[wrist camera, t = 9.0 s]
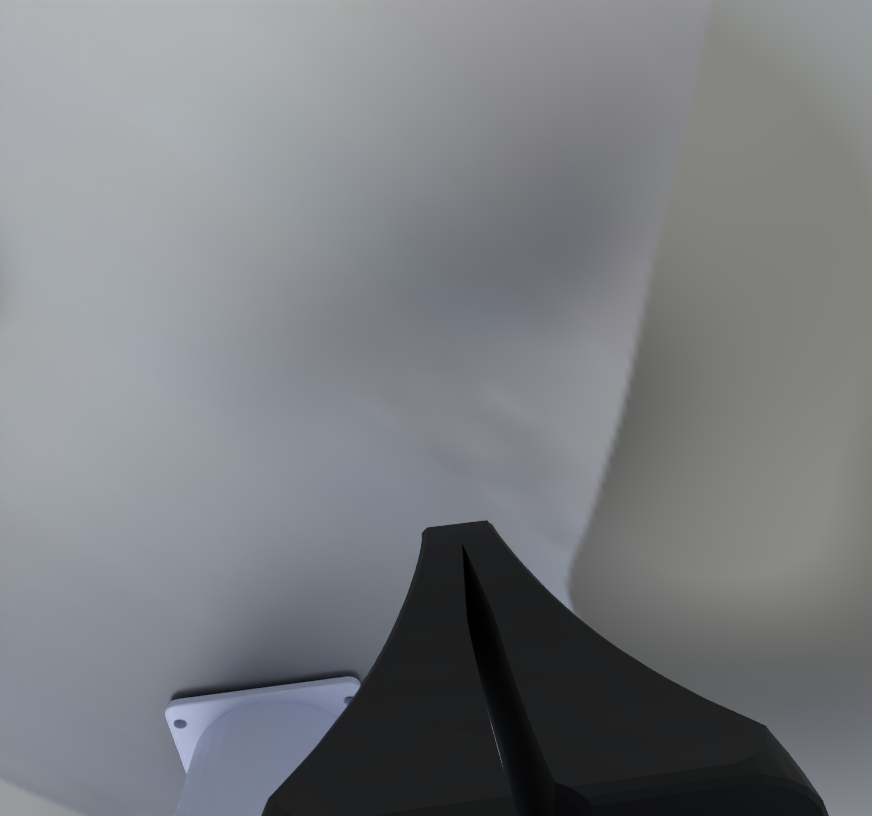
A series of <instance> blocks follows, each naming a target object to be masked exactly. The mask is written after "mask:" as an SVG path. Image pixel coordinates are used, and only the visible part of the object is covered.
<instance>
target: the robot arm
mask: <svg viewBox="0 0 872 816" xmlns="http://www.w3.org/2000/svg"><path fill="white" fill-rule="evenodd" d="M348 696H352V698H348ZM487 709H488V710H487ZM488 713H489V714H488ZM165 717H166V720H167V722H168V725H169V728H170V731H171V733H172V736H173V739H174V742H175V744H176V747H177V750H178V753H179V755H180V758H181V761H182V764H183V766H184V769H185V772H186V774H187V775H186V778H185V781H184V784H183V787H182V791H181V794H180V797H179V800H178V804H177V807H176V810H175V813H174V816H829V815H828V813H827V810H826V808H825V805H824V803H823V800H822V799H821V798H820V796H819V794H818V793H817V791H816V790H815V789H814V787H813V786H812V784H811V783H810V781H809V780H808V779H807V777H806V775H805V774H804V773H803V771H802V770H801V769H800V767H799V766H798V765H797V764H796V762H795V761H794V760H793V758H792V757H791V756H790V754H789V753H788V752H787V751H786V750H785V749H784V748H783V746H782V745H781V744H780V743H779V741H777V739H776V738H775V737H774V736H773V734H772V733H771V732H770V731H769V729H768V728H767V727H766V726H765V725H763V724H760V723H758V722H756V721H754V720H752V719H750V718H747V717H745V716H743V715H741V714H738V713H736V712H734V711H732V710H729V709H727V708H725V707H723V706H720V705H718V704H716V703H714V702H712V701H709V700H707V699H705V698H703V697H701V696H699V695H697V694H695V693H693V692H691V691H689V690H688V689H686V688H684V687H682V686H680V685H678V684H677V683H675V682H673V681H671V680H669V679H667V678H665V677H664V676H662V675H660V674H658V673H657V672H655V671H653V670H652V669H650V668H648V667H647V666H645V665H644V664H642V663H641V662H639V661H637V660H636V659H634V658H633V657H631V656H629V655H628V654H626V653H625V652H623V651H622V650H620V649H618V648H617V647H616V646H614V645H613V644H612V643H610V642H609V641H607V640H606V639H605V638H603V637H602V636H600V635H599V634H598V633H596V632H595V631H594V630H593V629H592V628H590V627H589V626H588V625H586V624H585V623H584V622H583V621H582V620H580V619H579V618H578V617H577V616H576V615H574V614H573V613H572V612H571V611H570V610H569V609H568V608H566V607H565V606H564V605H563V604H562V603H561V602H560V601H559V600H558V599H557V598H556V597H555V596H554V595H552V594H551V593H550V592H549V591H548V590H547V589H546V588H545V587H544V586H543V585H542V584H541V583H540V582H539V581H538V579H537V578H536V577H535V576H534V575H533V574H532V573H531V572H530V571H529V570H528V569H527V568H526V567H525V566H524V565H523V563H522V562H521V561H520V560H519V559H518V558H517V557H516V555H515V554H514V553H513V552H512V551H511V549H510V548H509V547H508V546H507V544H506V543H505V542H504V541H503V539H502V538H501V537H500V535H499V534H498V533H497V531H496V530H495V528H494V527H493V525H492V524H491V523H489V522H488V521H487V520H486V521H477V522H469V523H461V524H453V525H445V526H437V527H428V528H426V529H425V530H424V531H423V533H422V543H421V550H420V555H419V559H418V563H417V566H416V570H415V573H414V576H413V579H412V582H411V585H410V588H409V591H408V594H407V597H406V599H405V602H404V604H403V606H402V609H401V611H400V613H399V616H398V618H397V620H396V623H395V625H394V627H393V629H392V631H391V633H390V635H389V637H388V639H387V641H386V643H385V645H384V647H383V649H382V651H381V653H380V654H379V656H378V658H377V660H376V662H375V663H374V665H373V667H372V668H371V670H370V672H369V673H368V675H367V676H366V678H365V680H364V681H363V683H362V684H360V682H359V680H358V679H356V678H354V677H340V678H332V679H325V680H317V681H310V682H302V683H295V684H287V685H280V686H272V687H265V688H257V689H249V690H242V691H234V692H227V693H219V694H212V695H204V696H197V697H189V698H182V699H176V700H172V701H171V702H169V704H168V706H167V708H166V711H165ZM489 717H490V718H489ZM180 719H182V720H180ZM490 720H491V722H490ZM491 724H492V726H491ZM492 727H493V730H492ZM493 731H494V734H493ZM494 735H495V737H494ZM495 738H496V741H495ZM496 742H497V745H498V748H497V745H496ZM498 749H499V752H498ZM499 753H500V756H499ZM500 757H501V759H500ZM501 761H502V763H501ZM502 765H503V767H502ZM503 769H504V770H503Z"/></svg>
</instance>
